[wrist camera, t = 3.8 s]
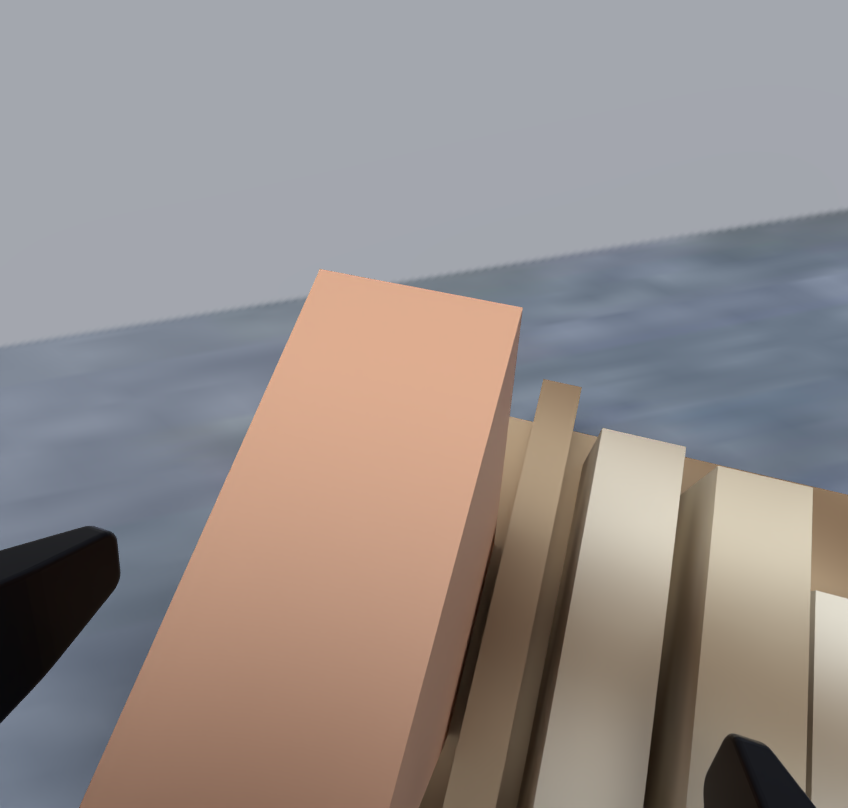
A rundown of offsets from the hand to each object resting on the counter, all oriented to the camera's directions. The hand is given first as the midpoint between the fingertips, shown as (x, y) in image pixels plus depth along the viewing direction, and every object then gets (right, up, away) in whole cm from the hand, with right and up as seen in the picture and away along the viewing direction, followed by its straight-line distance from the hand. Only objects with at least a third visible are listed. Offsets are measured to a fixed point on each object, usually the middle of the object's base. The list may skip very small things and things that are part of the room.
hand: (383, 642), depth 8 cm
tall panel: (+1, -3, +7) cm, 8 cm away
